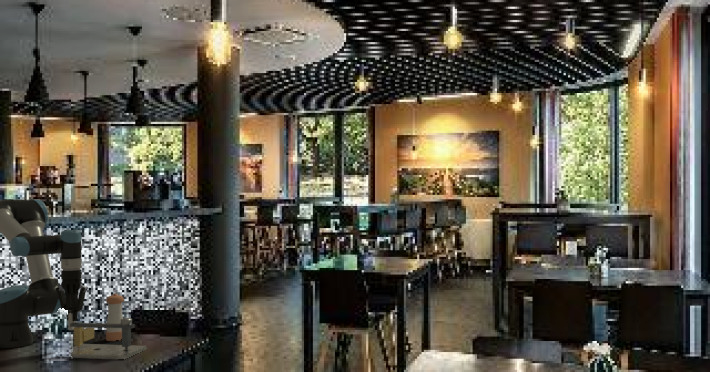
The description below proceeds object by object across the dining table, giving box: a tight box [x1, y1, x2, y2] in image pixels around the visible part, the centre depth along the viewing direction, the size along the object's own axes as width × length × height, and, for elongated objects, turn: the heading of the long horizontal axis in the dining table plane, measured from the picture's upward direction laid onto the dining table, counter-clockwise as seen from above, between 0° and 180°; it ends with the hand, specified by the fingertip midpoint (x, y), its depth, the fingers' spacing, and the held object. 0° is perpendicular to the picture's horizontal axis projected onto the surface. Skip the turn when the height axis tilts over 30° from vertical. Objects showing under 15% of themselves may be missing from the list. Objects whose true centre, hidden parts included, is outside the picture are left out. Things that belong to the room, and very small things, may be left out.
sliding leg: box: [73, 327, 95, 348], centre depth 261 cm, size 3×9×8 cm, turn 169°
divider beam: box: [70, 317, 136, 349], centre depth 256 cm, size 26×4×11 cm, turn 79°
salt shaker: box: [105, 292, 125, 342], centre depth 281 cm, size 7×7×19 cm
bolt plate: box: [71, 343, 148, 361], centre depth 256 cm, size 28×16×2 cm, turn 79°
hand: (72, 329), depth 265 cm, fingers closed
